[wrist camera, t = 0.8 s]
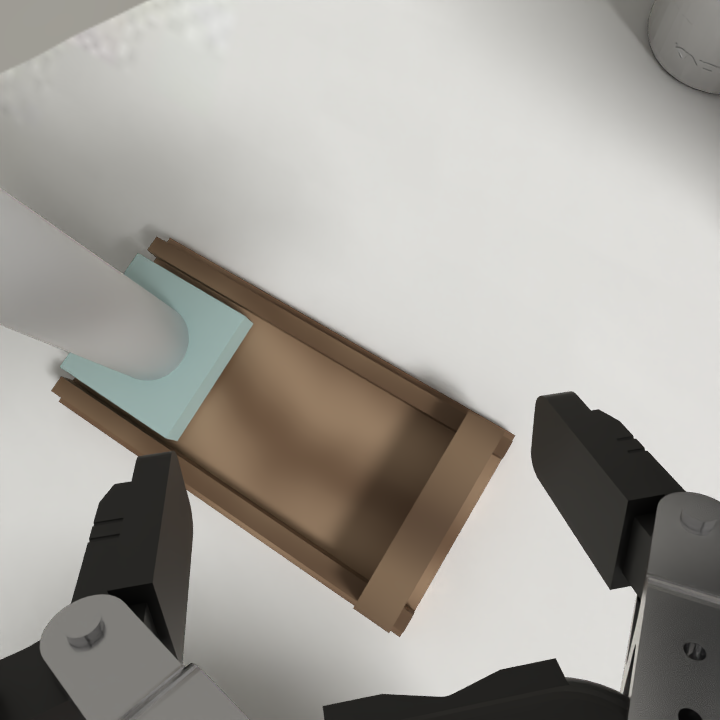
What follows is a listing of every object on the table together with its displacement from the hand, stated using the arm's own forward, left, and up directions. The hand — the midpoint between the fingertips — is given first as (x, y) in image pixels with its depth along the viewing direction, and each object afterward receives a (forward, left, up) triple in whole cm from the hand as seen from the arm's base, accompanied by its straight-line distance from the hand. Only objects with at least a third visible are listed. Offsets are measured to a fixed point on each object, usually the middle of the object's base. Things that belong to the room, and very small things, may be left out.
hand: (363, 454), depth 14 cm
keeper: (+1, -17, -20) cm, 26 cm away
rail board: (+1, -9, -21) cm, 23 cm away
